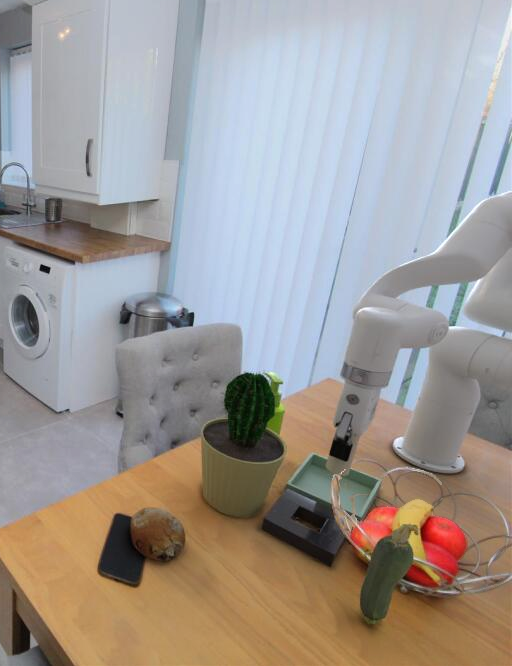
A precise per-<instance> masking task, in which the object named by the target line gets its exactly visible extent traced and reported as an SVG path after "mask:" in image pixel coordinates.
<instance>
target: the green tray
mask: <svg viewBox="0 0 512 666" xmlns="http://www.w3.org/2000/svg"><path fill="white" fill-rule="evenodd" d="M327 459H328V457H326V456H324V455H320V454H318V453H316V452H313V451H311V452H310V453H309V455H307V457H306V459H304V461H303V462H302V463H301V464H300V466H299V467H298V468H297V470H295V472H294V473H293V474H292V475H291V477H290V478H289V479H288V481H287V482H286V483H285V487H284V492H285V491H286V489H289V490H291V491H294V492H296V493H298V494H300V495H302V496H304V497H307V498H309V499H311V500H313V501H315V502H318V503H320V504H322V505H324V506H326V507H328V508H331V509H332V502H331V494H330V490H331V481H332V478H333V475H334V474H333V473H331V472H330V471H328V470H327V469H326V462H327ZM339 483H340V502H341V507H342V508H343V509H344V510H345V511H346V512H347V513H348V514H349V515H350V516H351V515H352V514H353V511H352V503H351V499H350V496H353V497H354V496H355V495H357V494H361V495H358V496H355V497H354V507H355V517H356V518H357V520H358V521H359V522H360V521H361V520H363V521H364V519H365V517H366V515H368V512H369V510H370V508H371V506H372V505H373V503H374V501H375V499H376V497H377V496H378V494H379V492H380V489H381V486H382V483H383V479H381V478H379V477H376V476H374V475H372V474H369V473H366V472H363V471H361V470H359V469H356V468H354V467H351V468H350V471H349V474H348V475H346V476H342V479H340V480H339ZM345 483H346V484H347V486H348V489H349V490H348V489H347V487H346V485H345ZM334 490H335V489H334ZM284 492H283V493H284ZM334 494H335V491H334ZM362 494H368V495H362ZM369 495H370V496H369ZM334 496H335V495H334ZM373 496H376V497H375V498H374V497H373Z"/></svg>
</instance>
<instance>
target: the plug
mask: <svg viewBox="0 0 512 666" xmlns="http://www.w3.org/2000/svg"><path fill="white" fill-rule="evenodd" d="M349 428H350V429H352V427H350V426H349ZM336 430H337V427H336V428H335V431H334V434H333V437H332V439H333V438H334V436H335V433H336ZM346 435H348V437H349V436H350V433H348V432H347V433H346ZM360 438H361V436H358V435H357V434H354V437H353V440H352V443H351V444H353V446H352V450H351V453H350V456H349V460H348V461H347V462H345V461H342V460H340V459H337V458H335V457H332V456H330V455H329V454H328V456H327V458H328V459H327V462H326V469H327V470H328V471H330V472H331V473H333V474H339V473H341V472H342V471H344V469H346V470H345V471H344V472H342V474H341V476H346V475H348V474H349V471H350V468H352V464H353V460H354V457H355V454H356V451H357V447H358V444H359V441H360Z"/></svg>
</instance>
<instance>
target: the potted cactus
mask: <svg viewBox="0 0 512 666" xmlns="http://www.w3.org/2000/svg"><path fill="white" fill-rule="evenodd" d="M264 372H266V369H264V370H263V373H261V371H260V370H259V371H258V372H256V373H254V372H249V371H244V372H243V373H241V372H238V374H237V375H236V376H235V375H233V378H232V376H231V375H229V376H230V378H231V379H230V381H229V382H228V381H226V382H227V383H226V387H225V389H222V391H223V392H220V394H223V395H222V397H223V400H222V401H221V400H219V401H220V404H222V406H223V408H221V409H222V410H221V412H222V413H223V414H224V411H226V416H224V417H217V418H213V419H210V420H208V421H206V422H205V423H204V424H203V425H202V426H201V430H200V444H201V445H200V450H201V451H200V452H201V485H202V486H201V488H202V496H203V497H204V499H205V501H206V503H208V504H209V505H210V507H212V508H213V509H215V510H216V511H218V512H220V513H222V514H224V515H227V516H230V517H235V518H250V517H253V516H255V515H257V514H258V513H260V511H261V510H262V507H263V505H264V503H265V500H266V499H267V496H268V494H269V492H270V491H271V488H272V485H273V483H274V481H275V479H276V476H277V474H278V472H279V470H280V468H281V466H282V464H283V461H284V459H285V457H286V455H287V453H288V445H287V444H286V442H285V440H284V439H283V437H282V436H280V435H278V434H277V433H275V432H274V431H272V430H271V429H269V428H267V426H268V427H269V425H268V424H267V423H268V421H270V419H271V418H272V417H274V415H276V414H275V404H277V403H275V400H276V399H275V397H276V396H274V395H275V394H276V392H272V389H271V387H270V386H271V380H270V379H268V376H267V375H266V374H265V373H264ZM227 379H228V380H229V377H228V378H227V377H226V380H227ZM274 383H275V382H274ZM272 384H273V382H272ZM274 390H277V389H274ZM273 393H275V394H273ZM277 396H278V395H277ZM281 403H282V402H280V403H279V404H281ZM276 408H277V407H276ZM276 411H277V410H276ZM276 413H277V412H276ZM270 422H271V421H270ZM272 422H273V421H272ZM273 423H274V422H273Z"/></svg>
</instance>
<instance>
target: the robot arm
mask: <svg viewBox="0 0 512 666" xmlns="http://www.w3.org/2000/svg"><path fill="white" fill-rule="evenodd" d="M472 282H476V283H475V284H474V286H473V288H472V289H471V291H470V292H469V294H468V296H467V298H466V299H465V302H464V305H463V309H462V313H463V315H464V317H465V318H467V320H469V321H471V322H474V323H476V324H479V325H482V326H485V327H489V328H492V329H496V330H500V331H504V332H507V333H510V334H512V190H508V191H505V192H503V193H501V194H498V195H493V196H490V197H487V198H485V199H483V200H482V201H480V202H479V203H477V204H476V205H475V206H474V208H473V209H471V211H470V212H469V213H468V214H467V215H466V216H465V218H464V219H463V220H462V221H461V222H460V223H459V224H458V225H457V227H455V229H454V230H453V231H452V232H451V233H450V235H448V236H447V237H446V238H445V240H444V241H443V242H442V243H441V244H440V245H439V246H438V248H437V249H436V250H435V251H434V252H432V253H430V254H427V255H424V256H421V257H418V258H415V259H413V260H410V261H408V262H405V263H403V264H401V265H398V266H396V267H394V268H392V269H390V270H388V271H387V272H385V273H383V274H382V275H381V276H379V277H378V278H377V279H376V280H375V281H374V282H373V283H372V284H371V286H370V287H369V288H367V290H366V291H365V292H364V293H363V294H362V296H361V297H360V299H359V300H358V301H357V303H356V304H355V306H354V309H353V311H352V321H353V323H352V327H351V330H350V334H349V338H348V340H347V341H348V342H347V345H346V349H345V353H344V356H343V361H342V364H341V368H340V371H339V377H340V378H341V379H342V380H343V381H344V382H343V385H342V389H341V392H340V395H339V397H338V401H337V405H336V410H335V412H334V415H333V416H334V417H333V421H332V425H333V427H334V428H335V430H336V427H337V430H336V433H335V432H334V434H335V436H334V435H333V437H334V438H333V437H332V442H331V445H330V449H329V452H328V455H330V456H332V457H335V458H337V459H340V460H342V461H345V462H347V461H348V460H349V456H350V453H351V450H352V446H353V444H351V443H352V440H353V437H354V434H357V435H358V436H360V437H361V436H363V435H364V434H365V433H366V431H367V430H368V429H369V428H370V426H371V424H372V423H373V421H374V420H375V416H376V411H377V407H378V405H379V400H380V397H381V393H382V389H386V388H387V387H388V386H389V385H390V384H389V383H390V380H391V378H392V374H393V371H394V368H395V366H396V361H397V359H398V356H399V352H400V350H401V349H413V350H414V349H415V350H416V349H426V348H427V363H426V369H425V372H424V376H423V381H422V383H421V386H420V389H419V393H418V396H417V399H416V402H415V404H414V407H413V410H412V413H411V416H410V419H409V421H408V425H407V428H406V431H405V433H404V436H400V437H397V438H395V439H394V440H393V443H392V449H393V451H394V453H395V454H396V455H398V457H400V458H401V459H402V460H404V461H406V462H407V463H409V464H411V465H413V466H416V467H417V468H420V469H423V470H427V471H430V472H434V473H440V474H457V473H461V471H463V469H465V468H464V467H465V466H466V463H465V459H464V458H463V457H462V456H461V454H460V451H461V448H462V445H463V444H464V441H465V438H466V436H467V433H468V432H469V429H470V426H471V424H472V421H473V418H474V415H475V414H476V411H477V408H478V406H479V404H480V400H481V387H480V385H479V382H481V383H485V384H487V385H490V386H492V387H496V388H498V389H501V390H504V391H507V392H510V393H512V339H508V338H505V337H501V336H499V335H495V334H494V333H493V334H492V333H489V332H485V331H481V330H478V329H474V328H470V327H466V326H455V325H453V326H450V322H449V319H448V317H447V316H446V315H445V314H444V313H442V312H440V311H439V310H437V309H434V308H430V307H427V306H423V305H419V304H417V303H413V302H409V301H406V300H402V299H399V298H398V297H399V296H401V295H403V294H406V293H408V292H410V291H413V290H417V289H423V288H427V287H436V286H447V285H458V284H466V283H472ZM349 426H350V427H352V429H350V428H349ZM347 432H348V433H350V436H349V437H348V435H346V433H347Z"/></svg>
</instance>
